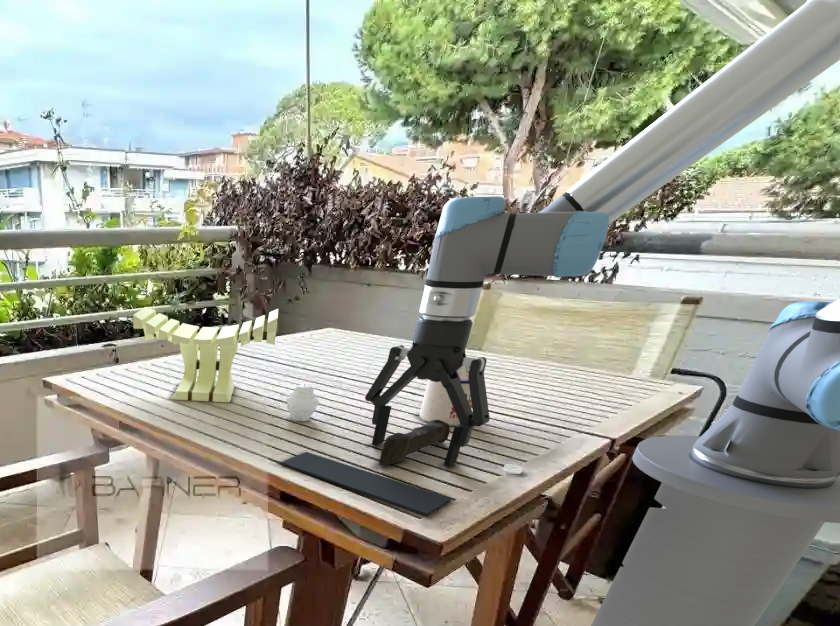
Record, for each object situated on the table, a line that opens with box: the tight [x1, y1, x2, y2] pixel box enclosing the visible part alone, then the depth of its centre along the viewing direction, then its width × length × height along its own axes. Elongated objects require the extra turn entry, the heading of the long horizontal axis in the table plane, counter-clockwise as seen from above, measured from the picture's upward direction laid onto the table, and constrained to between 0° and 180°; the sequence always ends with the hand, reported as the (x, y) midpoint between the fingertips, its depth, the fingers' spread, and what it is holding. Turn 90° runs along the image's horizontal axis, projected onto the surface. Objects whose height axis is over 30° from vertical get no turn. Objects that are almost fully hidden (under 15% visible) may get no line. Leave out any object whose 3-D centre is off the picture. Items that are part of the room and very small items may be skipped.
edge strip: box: [280, 451, 452, 517], centre depth 83 cm, size 24×7×1 cm, turn 40°
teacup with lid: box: [419, 365, 472, 427], centre depth 106 cm, size 12×9×12 cm
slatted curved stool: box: [132, 306, 279, 403], centre depth 124 cm, size 30×16×18 cm, turn 77°
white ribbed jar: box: [286, 383, 320, 422], centre depth 108 cm, size 6×6×7 cm
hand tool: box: [378, 420, 451, 466], centre depth 92 cm, size 19×4×5 cm, turn 126°
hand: (412, 453), depth 92 cm, fingers open, 12 cm apart
